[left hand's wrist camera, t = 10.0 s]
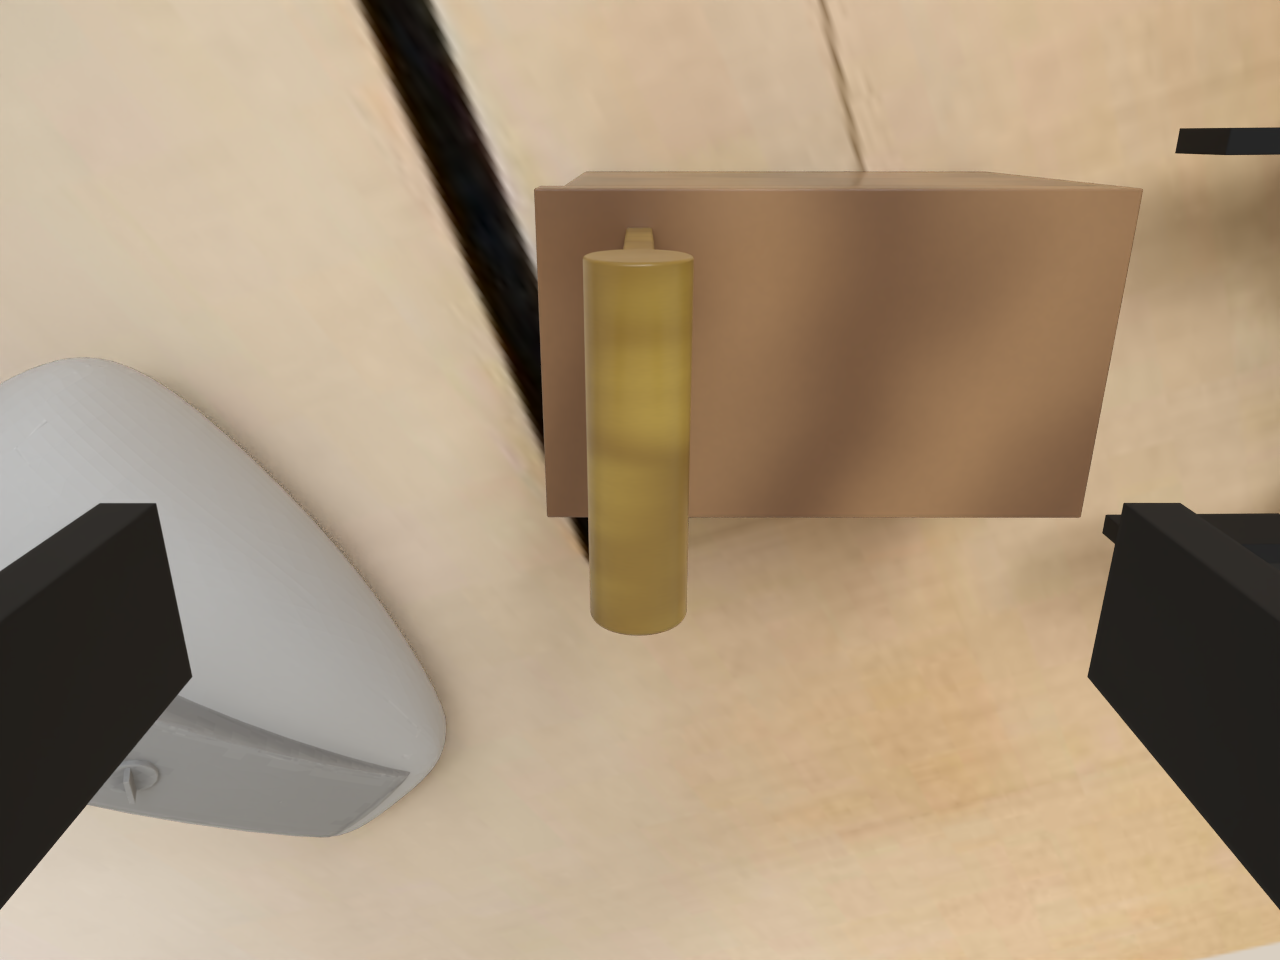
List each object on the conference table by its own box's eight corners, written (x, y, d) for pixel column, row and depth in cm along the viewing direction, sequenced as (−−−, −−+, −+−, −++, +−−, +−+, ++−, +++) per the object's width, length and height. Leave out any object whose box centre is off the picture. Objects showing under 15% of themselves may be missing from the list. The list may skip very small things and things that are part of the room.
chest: (590, 407, 38) (572, 501, 28) (585, 171, 34) (563, 185, 25) (955, 408, 38) (1061, 501, 28) (986, 171, 34) (1119, 185, 25)
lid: (551, 501, 28) (509, 670, 19) (539, 185, 25) (481, 214, 16) (1062, 502, 28) (1256, 671, 19) (1120, 186, 25) (1387, 214, 16)
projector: (13, 794, 45) (-265, 1086, 31) (-128, 335, 36) (-591, 456, 23) (460, 794, 45) (380, 1086, 31) (420, 336, 36) (288, 457, 23)
